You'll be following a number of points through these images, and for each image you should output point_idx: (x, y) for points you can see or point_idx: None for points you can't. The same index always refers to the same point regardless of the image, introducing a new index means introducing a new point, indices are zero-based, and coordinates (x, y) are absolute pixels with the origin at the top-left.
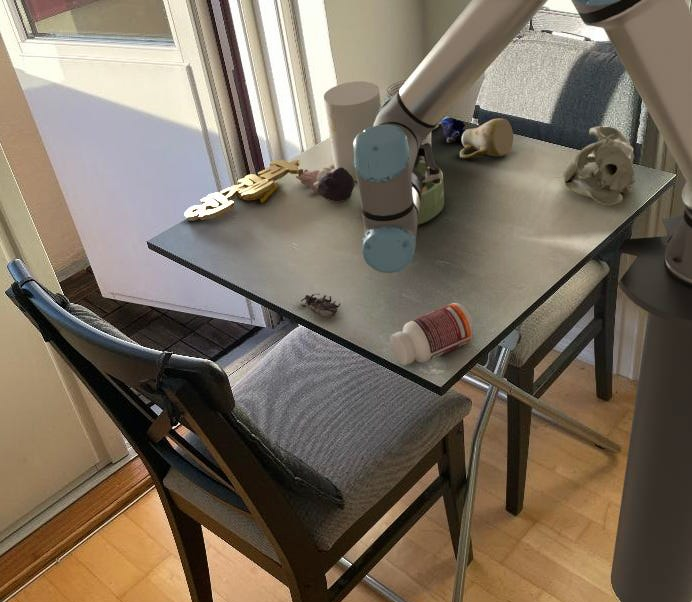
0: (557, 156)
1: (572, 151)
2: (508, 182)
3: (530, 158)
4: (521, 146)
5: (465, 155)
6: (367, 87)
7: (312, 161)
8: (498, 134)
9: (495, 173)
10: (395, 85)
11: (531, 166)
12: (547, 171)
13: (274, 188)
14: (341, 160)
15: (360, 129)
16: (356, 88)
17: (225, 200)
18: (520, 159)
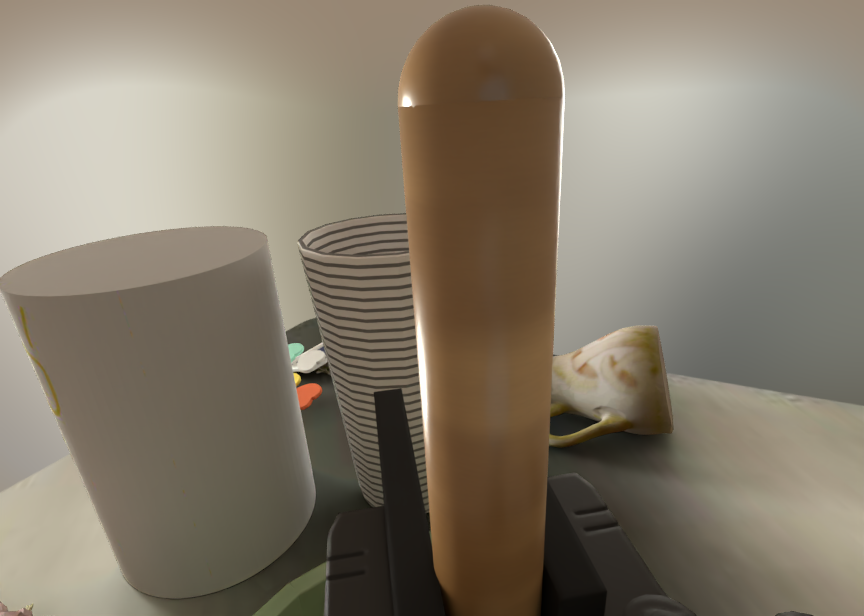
0: (806, 419)
1: (822, 400)
2: (796, 555)
3: (741, 432)
4: (671, 393)
5: (558, 438)
6: (222, 237)
7: (61, 490)
8: (663, 372)
9: (700, 506)
10: (330, 231)
11: (781, 464)
12: (859, 483)
13: None
14: (113, 527)
15: (179, 402)
16: (178, 241)
17: None
18: (716, 437)
